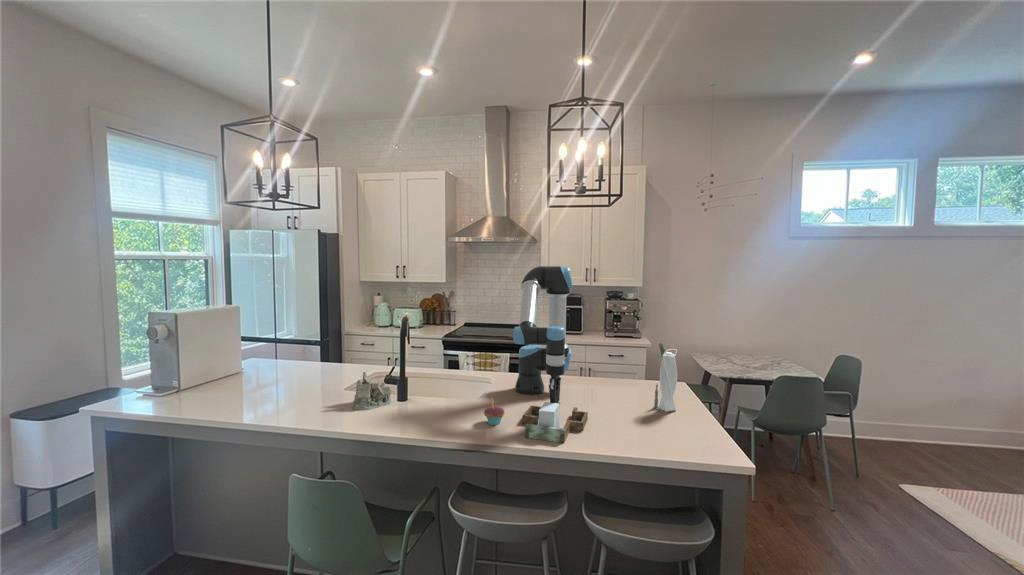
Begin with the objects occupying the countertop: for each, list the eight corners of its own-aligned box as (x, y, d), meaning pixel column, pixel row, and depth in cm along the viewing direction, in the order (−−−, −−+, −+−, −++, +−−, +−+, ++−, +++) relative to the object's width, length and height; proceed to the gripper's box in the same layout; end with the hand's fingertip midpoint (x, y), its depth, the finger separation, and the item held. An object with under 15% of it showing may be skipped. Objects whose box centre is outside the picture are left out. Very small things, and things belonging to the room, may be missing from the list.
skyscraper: (668, 405, 202) (670, 347, 200) (680, 411, 195) (682, 350, 193) (653, 407, 200) (655, 347, 198) (664, 413, 192) (666, 351, 190)
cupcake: (499, 428, 174) (499, 399, 173) (480, 425, 177) (480, 396, 176) (507, 420, 182) (507, 392, 181) (488, 417, 185) (488, 390, 184)
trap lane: (512, 435, 166) (513, 423, 166) (533, 410, 195) (533, 399, 195) (577, 445, 159) (577, 431, 158) (588, 416, 187) (589, 405, 187)
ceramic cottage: (346, 409, 193) (349, 376, 193) (363, 399, 209) (365, 368, 209) (380, 413, 191) (382, 380, 191) (394, 402, 208) (396, 372, 207)
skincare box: (544, 426, 176) (544, 401, 175) (559, 428, 174) (560, 403, 173) (537, 436, 166) (538, 409, 165) (554, 438, 164) (554, 411, 163)
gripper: (561, 368, 170) (560, 427, 171) (567, 361, 182) (566, 416, 184) (542, 367, 172) (542, 424, 174) (549, 360, 184) (549, 414, 186)
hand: (554, 420), depth 179 cm, fingers closed
